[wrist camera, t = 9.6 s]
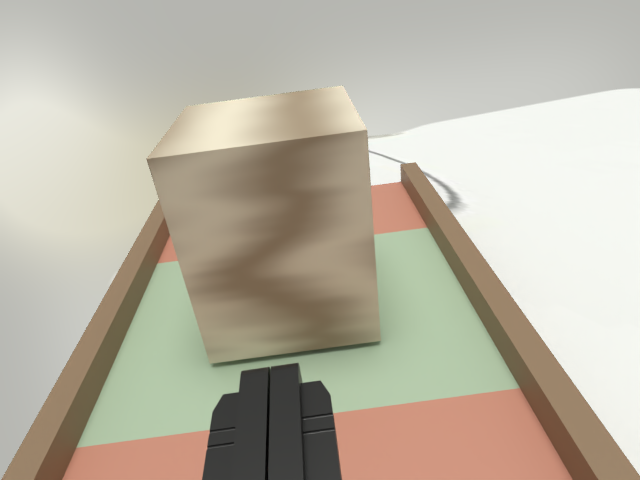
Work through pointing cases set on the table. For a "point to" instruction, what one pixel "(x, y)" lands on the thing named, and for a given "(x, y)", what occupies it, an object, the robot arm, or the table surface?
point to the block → (272, 222)
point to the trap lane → (331, 372)
